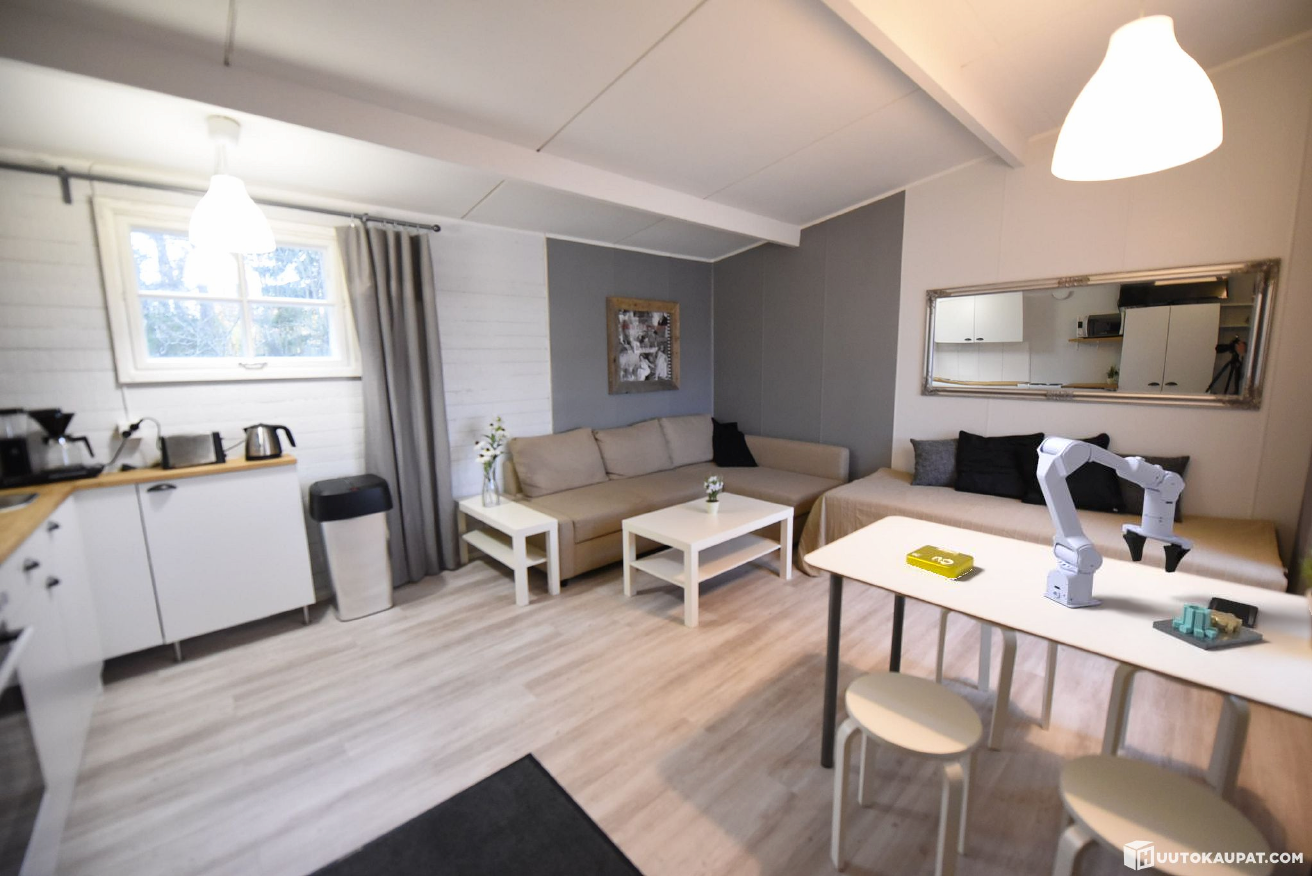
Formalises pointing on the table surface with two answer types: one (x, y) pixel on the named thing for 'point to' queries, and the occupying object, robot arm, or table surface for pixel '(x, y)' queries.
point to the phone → (1236, 610)
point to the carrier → (1227, 635)
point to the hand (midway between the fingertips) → (1152, 566)
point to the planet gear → (1196, 621)
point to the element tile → (941, 561)
